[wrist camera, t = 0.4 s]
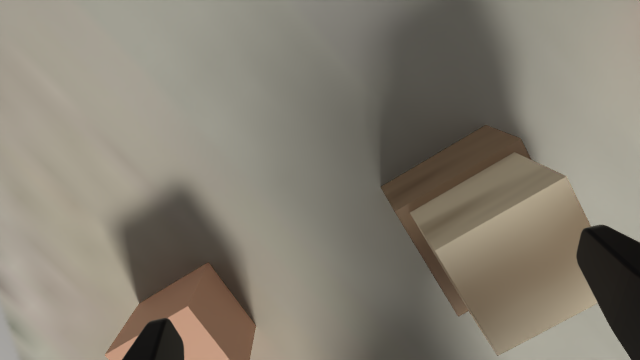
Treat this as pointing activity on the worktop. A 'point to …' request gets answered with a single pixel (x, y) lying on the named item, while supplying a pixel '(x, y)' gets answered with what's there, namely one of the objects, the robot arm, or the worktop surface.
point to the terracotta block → (194, 319)
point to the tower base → (447, 188)
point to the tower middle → (511, 248)
